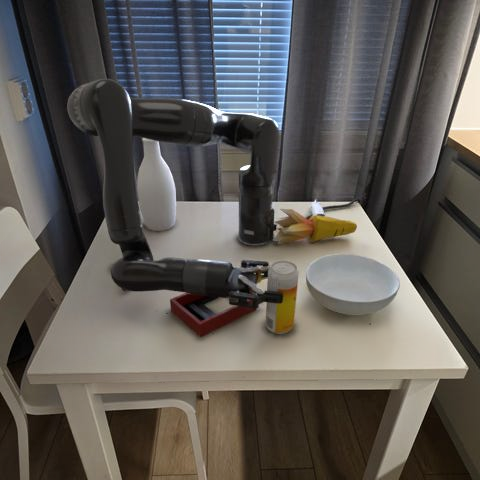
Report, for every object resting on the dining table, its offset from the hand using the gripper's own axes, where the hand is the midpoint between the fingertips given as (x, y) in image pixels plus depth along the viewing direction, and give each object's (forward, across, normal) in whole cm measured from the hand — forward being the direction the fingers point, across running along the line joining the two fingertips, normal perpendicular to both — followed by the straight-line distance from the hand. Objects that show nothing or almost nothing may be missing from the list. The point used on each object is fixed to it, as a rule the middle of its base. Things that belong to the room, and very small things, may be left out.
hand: (285, 286), depth 91 cm
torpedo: (+5, +56, +11) cm, 58 cm away
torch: (+4, +42, +11) cm, 43 cm away
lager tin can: (-1, 0, +11) cm, 11 cm away
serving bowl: (+14, +13, +11) cm, 22 cm away
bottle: (-42, +43, +11) cm, 61 cm away
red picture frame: (-16, +3, +10) cm, 19 cm away
